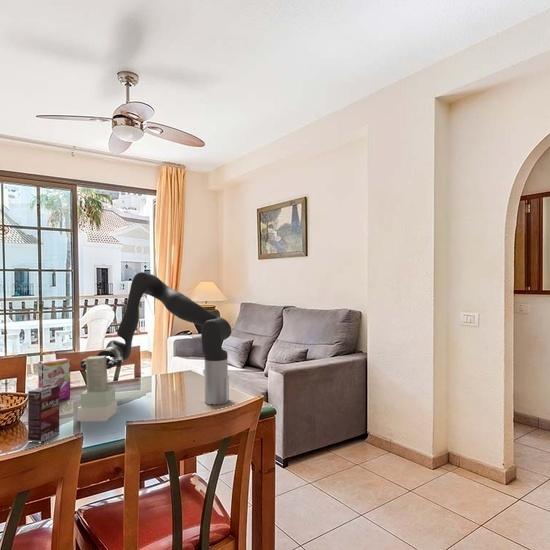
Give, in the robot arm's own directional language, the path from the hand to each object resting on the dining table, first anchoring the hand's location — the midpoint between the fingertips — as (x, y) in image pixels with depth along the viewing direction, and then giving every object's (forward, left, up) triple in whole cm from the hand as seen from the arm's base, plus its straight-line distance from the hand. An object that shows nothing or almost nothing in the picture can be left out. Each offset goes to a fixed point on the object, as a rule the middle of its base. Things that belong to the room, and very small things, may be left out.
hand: (96, 366), depth 152 cm
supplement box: (+8, +19, -19) cm, 28 cm away
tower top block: (0, -1, -14) cm, 14 cm away
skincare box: (+1, -1, -9) cm, 9 cm away
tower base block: (+1, -1, -19) cm, 19 cm away
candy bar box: (+28, -21, -19) cm, 40 cm away
